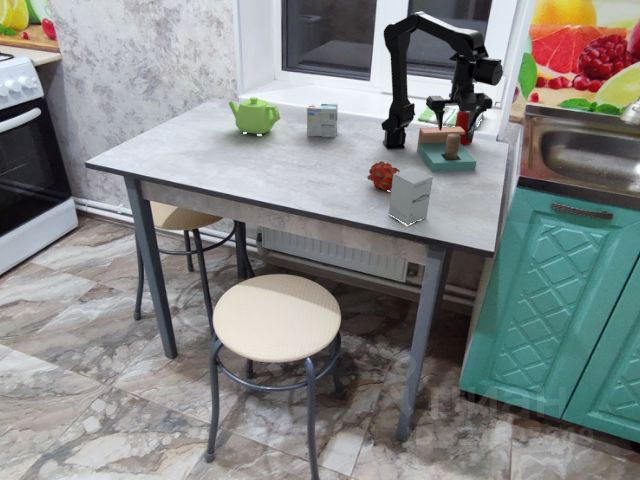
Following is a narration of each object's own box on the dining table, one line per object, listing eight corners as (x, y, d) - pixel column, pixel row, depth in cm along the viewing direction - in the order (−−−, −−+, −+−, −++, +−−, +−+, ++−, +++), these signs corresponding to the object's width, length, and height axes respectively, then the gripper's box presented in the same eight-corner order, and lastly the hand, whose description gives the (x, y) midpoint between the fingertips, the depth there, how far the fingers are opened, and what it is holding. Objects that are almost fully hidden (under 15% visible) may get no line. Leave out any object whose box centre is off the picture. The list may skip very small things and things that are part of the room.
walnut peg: (445, 168, 151) (450, 138, 146) (441, 163, 155) (445, 134, 149) (457, 168, 152) (462, 138, 146) (453, 162, 155) (458, 133, 150)
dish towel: (476, 132, 179) (478, 123, 177) (416, 122, 187) (417, 113, 185) (484, 118, 192) (486, 109, 190) (428, 109, 200) (429, 101, 198)
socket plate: (432, 171, 149) (435, 148, 145) (416, 150, 163) (419, 127, 159) (474, 170, 151) (479, 146, 146) (456, 148, 165) (460, 126, 160)
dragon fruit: (367, 185, 145) (400, 202, 140) (357, 179, 138) (391, 197, 132) (380, 160, 144) (414, 176, 139) (371, 152, 136) (406, 169, 131)
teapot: (223, 134, 175) (219, 100, 168) (240, 122, 185) (237, 89, 178) (272, 141, 169) (270, 107, 162) (287, 129, 179) (286, 95, 172)
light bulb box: (337, 131, 178) (338, 102, 172) (335, 138, 172) (336, 109, 166) (309, 130, 179) (308, 101, 173) (306, 136, 173) (306, 107, 167)
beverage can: (472, 147, 166) (479, 113, 159) (452, 145, 167) (458, 112, 160) (471, 139, 171) (477, 107, 165) (452, 138, 172) (457, 105, 166)
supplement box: (407, 228, 122) (413, 184, 115) (387, 215, 127) (392, 173, 120) (427, 219, 126) (434, 176, 119) (407, 207, 131) (412, 165, 124)
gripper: (441, 87, 131) (433, 140, 139) (506, 85, 132) (494, 138, 141) (429, 76, 140) (422, 127, 149) (489, 74, 142) (479, 125, 150)
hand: (454, 129), depth 147 cm, fingers open, 9 cm apart
